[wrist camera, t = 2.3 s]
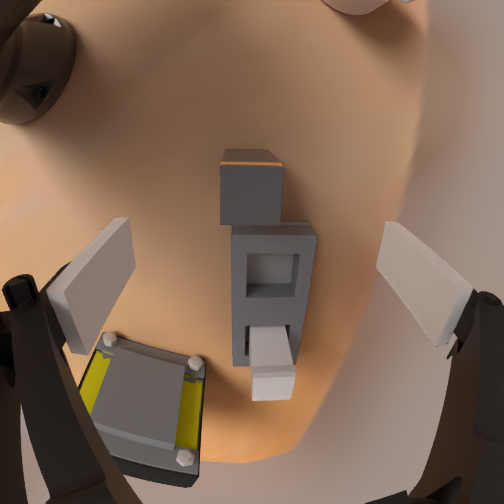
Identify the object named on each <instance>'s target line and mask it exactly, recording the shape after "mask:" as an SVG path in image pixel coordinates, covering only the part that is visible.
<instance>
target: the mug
mask: <svg viewBox="0 0 504 504" xmlns="http://www.w3.org/2000/svg"><path fill="white" fill-rule="evenodd" d="M323 1H324V2H325V3H326V4H327V5H329V6H330V7H332V8H334V9H336V10H338V11H340V12H343V13H346V14H350V15H365V14H368V13H370V12H372V11H373V10H375V9H376V8H378V7H380V6H381V5H383V4H384V3H386V2H388V1H389V0H323ZM398 1H400V2H403V3H410V2H413V1H415V0H398Z"/></svg>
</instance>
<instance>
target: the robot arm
mask: <svg viewBox="0 0 504 504" xmlns="http://www.w3.org/2000/svg"><path fill="white" fill-rule="evenodd" d="M41 1H42V0H0V122H2V123H5V124H12V125H14V124H21V123H27V122H30V121H33V120H35V119H37V118H38V117H40V116H41V115H43V114H44V113H45V112H46V111H47V110H48V109H49V108H50V107H51V106H52V105H53V104H54V103H55V101H56V100H57V99H58V97H59V96H60V94H61V93H62V91H63V89H64V87H65V85H66V83H67V81H68V79H69V76H70V74H71V71H72V67H73V64H74V59H75V51H76V43H75V36H74V32H73V30H72V28H71V26H70V25H69V23H68V22H67V21H65V20H64V19H62V18H60V17H58V16H55V15H53V14H48V13H39V14H31V15H29V14H30V13H31V12H32V11H33V9H34V8H35V7H36V6H37V5H38V4H39V3H40V2H41ZM135 268H136V262H135V256H134V249H133V243H132V236H131V228H130V221H129V217H124V218H115V219H114V220H113V221H112V222H111V223H109V224H108V225H107V226H106V227H105V228H104V229H103V230H102V231H101V232H100V233H99V234H98V235H97V236H96V237H95V238H94V239H93V240H92V241H91V242H90V243H89V244H88V245H87V246H86V247H85V248H84V249H83V250H82V251H81V252H80V253H79V254H78V255H77V256H76V257H75V259H74V260H73V261H72V262H69V263H68V264H66V265H65V266H63V267H61V268H60V270H59V271H58V272H57V273H56V274H55V275H54V276H53V277H52V278H51V281H49V282H48V283H47V284H46V285H45V286H44V287H43V288H42V289H41V291H40V292H38V290H37V287H36V284H35V281H34V278H33V276H32V275H29V274H22V275H19V276H16V277H14V278H12V279H10V280H9V281H7V282H6V283H5V285H4V286H3V288H2V292H3V294H4V297H5V299H6V302H7V304H8V306H9V309H10V311H5V312H0V504H28V501H27V495H26V489H25V482H24V474H23V465H22V454H21V433H20V410H21V406H22V410H23V414H24V418H25V423H26V426H27V430H28V434H29V437H30V441H31V444H32V447H33V450H34V453H35V456H36V459H37V462H38V465H39V468H40V470H41V473H42V476H43V478H44V480H45V483H46V485H47V488H48V490H49V494H50V499H49V500H48V501H47V502H46V504H143V503H142V502H141V500H140V499H139V498H138V496H137V495H136V494H135V492H134V491H133V489H132V488H131V486H130V485H129V483H128V482H127V480H126V479H125V477H124V476H123V474H122V473H121V471H120V469H119V468H118V466H117V465H116V463H115V461H114V460H113V458H112V456H111V454H110V453H109V451H108V449H107V447H106V446H105V444H104V442H103V440H102V438H101V436H100V435H99V433H98V431H97V429H96V427H95V425H94V423H93V421H92V419H91V417H90V414H89V412H88V410H87V408H86V406H85V404H84V401H83V399H82V397H81V395H80V392H79V390H78V387H77V385H76V382H75V380H74V377H73V375H72V372H71V370H70V367H69V364H68V361H67V359H66V356H65V353H64V351H63V349H62V347H63V345H64V344H65V342H67V344H68V346H69V348H70V350H71V352H72V353H76V354H82V355H89V353H90V351H91V349H92V347H93V345H94V343H95V341H96V339H97V337H98V335H99V333H100V331H101V329H102V327H103V325H104V323H105V321H106V319H107V317H108V316H109V314H110V312H111V310H112V308H113V306H114V304H115V303H116V301H117V299H118V297H119V295H120V294H121V292H122V290H123V288H124V287H125V285H126V283H127V281H128V280H129V278H130V276H131V274H132V273H133V271H134V269H135ZM376 268H377V270H378V271H379V272H380V273H381V275H382V276H383V277H384V279H385V280H386V281H387V282H388V284H389V285H390V286H391V287H392V289H393V290H394V291H395V293H396V294H397V295H398V297H399V298H400V299H401V301H402V302H403V303H404V305H405V306H406V307H407V309H408V310H409V311H410V313H411V314H412V315H413V317H414V318H415V320H416V321H417V323H418V324H419V325H420V327H421V328H422V330H423V331H424V332H425V334H426V335H427V337H428V338H429V340H430V341H431V343H432V344H433V346H434V347H437V346H441V345H445V344H448V342H449V340H450V338H451V336H452V334H453V332H454V334H455V335H456V336H457V337H458V338H457V340H456V341H455V344H454V345H453V347H452V349H451V351H450V352H449V354H448V356H447V359H449V358H450V356H452V362H451V369H450V375H449V381H448V386H447V391H446V396H445V401H444V406H443V409H442V413H441V417H440V421H439V425H438V429H437V432H436V436H435V440H434V443H433V446H432V449H431V452H430V455H429V458H428V461H427V464H426V466H425V469H424V472H423V475H422V477H421V479H420V481H419V482H418V484H417V485H416V486H415V487H414V489H413V490H412V491H411V492H410V494H409V495H407V492H406V490H404V491H402V492H399V493H396V494H393V495H390V496H387V497H384V498H381V499H378V500H375V501H371V502H367V503H365V504H504V305H503V304H502V302H501V300H500V299H499V298H498V297H496V296H495V295H494V294H492V293H489V292H486V291H481V292H479V293H478V292H477V291H476V290H474V288H473V287H472V286H471V285H470V284H469V283H468V282H467V281H466V280H465V279H464V278H463V277H461V276H460V275H459V274H458V273H457V272H456V271H455V270H454V269H453V268H452V267H451V266H449V265H448V264H447V263H446V262H445V261H444V260H443V259H441V258H440V257H439V256H438V255H437V254H436V253H435V252H434V251H432V250H431V249H430V248H429V247H428V246H426V245H425V244H424V243H423V242H422V241H420V240H419V239H418V238H416V236H414V235H413V234H412V233H411V232H409V231H408V230H407V229H405V228H404V227H403V226H402V225H400V224H399V223H398V222H390V221H386V222H385V227H384V232H383V237H382V241H381V246H380V250H379V255H378V259H377V263H376Z"/></svg>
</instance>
